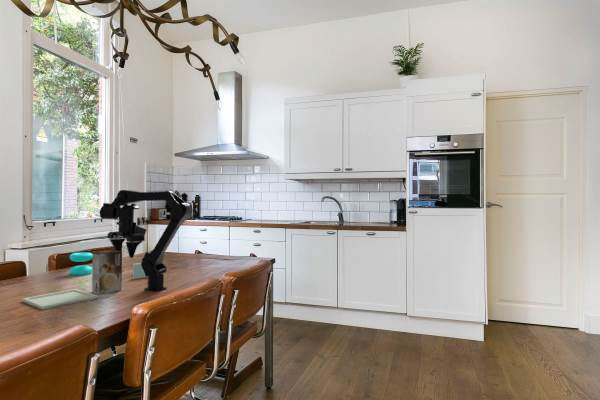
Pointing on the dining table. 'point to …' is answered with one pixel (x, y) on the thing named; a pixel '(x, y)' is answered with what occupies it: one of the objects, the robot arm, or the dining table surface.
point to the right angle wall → (138, 271)
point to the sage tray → (59, 299)
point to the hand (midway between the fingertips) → (125, 256)
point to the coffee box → (106, 271)
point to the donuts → (79, 258)
